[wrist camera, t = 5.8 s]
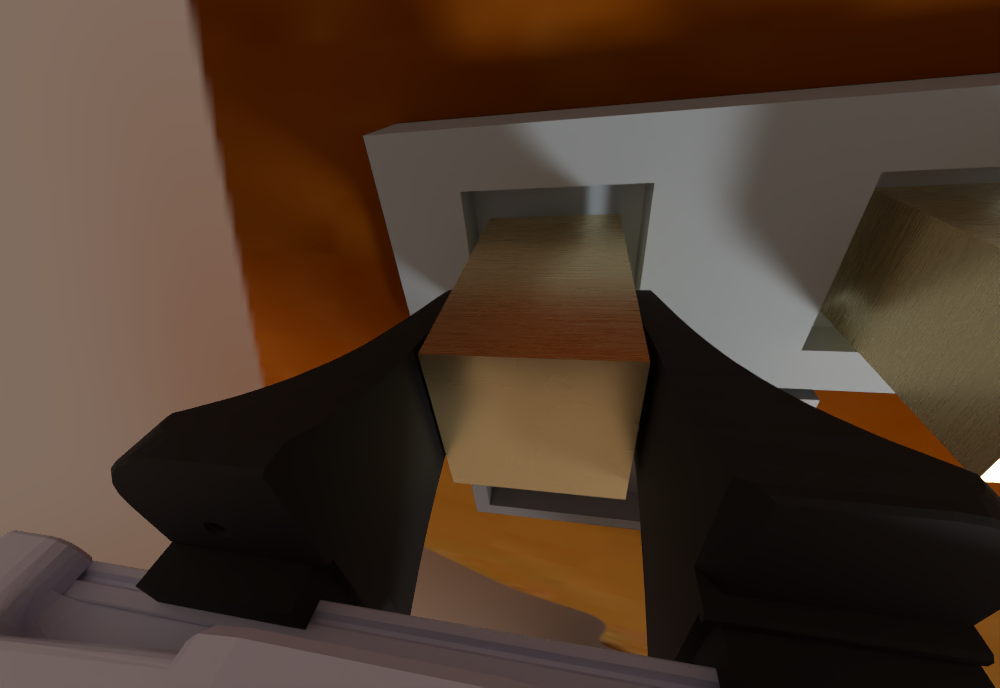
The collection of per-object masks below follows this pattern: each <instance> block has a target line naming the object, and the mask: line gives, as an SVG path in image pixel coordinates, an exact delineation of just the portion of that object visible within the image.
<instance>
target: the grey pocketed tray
mask: <svg viewBox="0 0 1000 688" xmlns="http://www.w3.org/2000/svg"><path fill="white" fill-rule="evenodd" d="M363 138H364V142H365V146H366V150H367V153H368V157H369V161H370V165H371V169H372V172H373V176H374V180H375V184H376V188H377V191H378V195H379V199H380V203H381V207H382V210H383V214H384V218H385V222H386V226H387V230H388V233H389V237H390V241H391V245H392V249H393V252H394V256H395V260H396V264H397V268H398V271H399V275H400V279H401V283H402V287H403V290H404V294H405V298H406V302H407V306H408V309H409V313H410V316H411V315H412V314H414V313H415V312H417V311H418V310H420V309H421V308H423V307H424V306H425V305H427V304H428V303H430V302H431V301H433V300H434V299H436V298H437V297H438V296H440V295H442V294H443V293H445V292H447V291H448V290H452V289H453V287H454V285H455V283H456V282H457V280H458V278H459V276H460V274H461V272H462V270H463V268H464V267H465V265H466V263H467V261H468V259H469V257H470V255H471V253H472V252H473V250H474V248H475V246H476V244H477V242H478V240H479V238H480V236H481V235H482V233H483V231H484V229H485V227H486V225H487V223H488V221H489V220H490V218H506V217H536V216H566V215H596V214H620V218H621V223H622V228H623V233H624V237H625V242H626V247H627V252H628V257H629V262H630V266H631V271H632V276H633V281H634V286H635V290H651V291H652V292H653V293H654V294H655V295H657V296H658V297H659V298H660V299H661V300H662V301H663V302H664V303H665V304H666V305H667V306H668V307H669V308H670V309H671V310H672V311H673V312H674V313H675V314H676V315H677V316H678V317H679V318H680V319H682V320H683V321H684V322H685V323H686V324H687V325H688V326H689V327H691V328H692V329H693V330H694V331H695V332H696V333H698V334H699V335H700V336H701V337H702V338H704V339H705V340H706V341H708V342H709V343H710V344H711V345H713V346H714V347H715V348H717V349H718V350H719V351H721V352H722V353H723V354H725V355H726V356H727V357H729V358H730V359H732V360H733V361H735V362H736V363H738V364H739V365H741V366H742V367H744V368H746V369H747V370H749V371H750V372H752V373H753V374H755V375H757V376H758V377H760V378H761V379H763V380H765V381H767V382H768V383H770V384H772V385H774V386H775V387H777V388H791V389H813V390H835V391H857V392H879V393H895V392H894V391H893V390H892V389H891V387H890V386H889V385H888V384H887V383H886V382H885V381H884V380H883V379H882V378H881V377H880V376H879V374H878V373H877V372H876V371H875V370H874V369H873V368H872V367H871V366H870V365H869V364H868V362H867V361H866V360H865V359H864V358H863V357H862V356H861V355H860V354H859V353H858V352H857V351H856V349H855V348H854V347H853V346H852V345H851V344H850V343H849V342H848V341H847V340H846V339H845V337H844V336H843V335H842V334H841V333H840V332H839V331H838V330H837V329H836V328H835V327H834V326H833V324H832V323H831V322H830V321H829V320H828V319H827V318H826V317H825V316H824V315H823V314H822V312H821V311H820V308H821V306H822V304H823V302H824V299H825V297H826V295H827V293H828V291H829V288H830V286H831V284H832V282H833V280H834V277H835V275H836V273H837V271H838V269H839V266H840V264H841V262H842V260H843V258H844V255H845V253H846V251H847V249H848V247H849V244H850V242H851V240H852V238H853V236H854V233H855V231H856V229H857V227H858V225H859V222H860V220H861V218H862V216H863V214H864V211H865V209H866V207H867V205H868V203H869V200H870V198H871V196H872V194H873V192H874V189H875V187H898V186H923V185H947V184H972V183H997V182H1000V73H991V74H979V75H967V76H955V77H944V78H932V79H920V80H908V81H896V82H884V83H872V84H861V85H849V86H837V87H825V88H813V89H801V90H790V91H778V92H766V93H754V94H742V95H730V96H719V97H707V98H695V99H683V100H671V101H659V102H648V103H636V104H624V105H612V106H600V107H588V108H577V109H565V110H553V111H541V112H529V113H517V114H506V115H494V116H482V117H470V118H458V119H446V120H435V121H423V122H411V123H399V124H394V125H391V126H388V127H386V128H383V129H380V130H377V131H375V132H372V133H369V134H366V135H364V136H363Z"/></svg>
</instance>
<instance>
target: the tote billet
mask: <svg viewBox="0 0 1000 688" xmlns="http://www.w3.org/2000/svg"><path fill="white" fill-rule="evenodd" d="M418 356H419V360H420V363H421V367H422V371H423V374H424V378H425V381H426V385H427V388H428V392H429V396H430V399H431V403H432V406H433V410H434V413H435V417H436V420H437V424H438V428H439V431H440V435H441V438H442V442H443V445H444V449H445V452H446V456H447V460H448V463H449V467H450V470H451V474H452V477H453V481H454V482H455V483H465V484H475V485H485V486H495V487H505V488H515V489H524V490H534V491H544V492H554V493H564V494H574V495H584V496H594V497H604V498H614V499H624V500H625V499H626V494H627V488H628V483H629V477H630V472H631V466H632V461H633V455H634V450H635V444H636V439H637V433H638V428H639V422H640V417H641V411H642V406H643V400H644V395H645V389H646V384H647V378H648V372H649V367H650V358H649V354H648V349H647V344H646V339H645V334H644V329H643V325H642V320H641V315H640V310H639V305H638V300H637V296H636V291H635V286H634V281H633V276H632V271H631V266H630V262H629V257H628V252H627V247H626V242H625V237H624V233H623V228H622V223H621V218H620V214H596V215H566V216H536V217H506V218H490V220H489V221H488V223H487V225H486V227H485V229H484V231H483V233H482V235H481V236H480V238H479V240H478V242H477V244H476V246H475V248H474V250H473V252H472V253H471V255H470V257H469V259H468V261H467V263H466V265H465V267H464V268H463V270H462V272H461V274H460V276H459V278H458V280H457V282H456V283H455V285H454V287H453V289H452V291H451V293H450V295H449V297H448V298H447V300H446V302H445V304H444V306H443V308H442V310H441V312H440V313H439V315H438V317H437V319H436V321H435V323H434V325H433V327H432V328H431V330H430V332H429V334H428V336H427V338H426V340H425V342H424V343H423V345H422V347H421V349H420V351H419V353H418Z"/></svg>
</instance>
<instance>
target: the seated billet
mask: <svg viewBox="0 0 1000 688" xmlns="http://www.w3.org/2000/svg"><path fill="white" fill-rule="evenodd" d="M820 311H821V312H822V314H823V315H824V316H825V317H826V318H827V319H828V320H829V321H830V322H831V323H832V324H833V326H834V327H835V328H836V329H837V330H838V331H839V332H840V333H841V334H842V335H843V336H844V337H845V339H846V340H847V341H848V342H849V343H850V344H851V345H852V346H853V347H854V348H855V349H856V351H857V352H858V353H859V354H860V355H861V356H862V357H863V358H864V359H865V360H866V361H867V362H868V364H869V365H870V366H871V367H872V368H873V369H874V370H875V371H876V372H877V373H878V374H879V376H880V377H881V378H882V379H883V380H884V381H885V382H886V383H887V384H888V385H889V386H890V387H891V389H892V390H893V391H894V392H895V393H896V394H897V395H898V396H899V397H900V398H901V399H902V400H903V402H904V403H905V404H906V405H907V406H908V407H909V408H910V409H911V410H912V411H913V412H914V414H915V415H916V416H917V417H918V418H919V419H920V420H921V421H922V422H923V423H924V424H925V425H926V427H927V428H928V429H929V430H930V431H931V432H932V433H933V434H934V435H935V436H936V437H937V439H938V440H939V441H940V442H941V443H942V444H943V445H944V446H945V447H946V448H947V449H948V450H949V452H950V453H951V454H952V455H953V456H954V457H955V458H956V459H957V460H958V461H959V462H960V463H961V465H962V466H963V467H964V468H965V469H966V470H968V471H971V472H974V473H976V474H978V475H979V476H980V477H981V478H982V479H983V480H984V481H985V482H997V483H1000V182H997V183H972V184H947V185H923V186H898V187H875V189H874V192H873V194H872V196H871V198H870V200H869V203H868V205H867V207H866V209H865V211H864V214H863V216H862V218H861V220H860V222H859V225H858V227H857V229H856V231H855V233H854V236H853V238H852V240H851V242H850V244H849V247H848V249H847V251H846V253H845V255H844V258H843V260H842V262H841V264H840V266H839V269H838V271H837V273H836V275H835V277H834V280H833V282H832V284H831V286H830V288H829V291H828V293H827V295H826V297H825V299H824V302H823V304H822V306H821V308H820Z"/></svg>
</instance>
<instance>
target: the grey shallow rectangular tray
mask: <svg viewBox="0 0 1000 688" xmlns="http://www.w3.org/2000/svg"><path fill="white" fill-rule="evenodd" d="M779 389H781V390H783V391H785V392H786V393H788V394H790V395H792V396H794V397H796V398H798V399H800V400H802V401H803V402H805V403H807V404H809V405H811V406H813V407H815V408H816V406H817V405H818V403H819V401H820V400H819V398H818V397H817V395H816V394H815V392H814V391H813V390H812V389H791V388H779ZM472 488H473V492H474V497H475V502H476V506H477V511H480V512H488V513H497V514H506V515H514V516H523V517H532V518H540V519H549V520H558V521H566V522H575V523H584V524H592V525H601V526H610V527H618V528H627V529H636V530H641V527H640V513H639V501H638V489H637V477H636V469H635V462H634V455H633V461H632V466H631V472H630V477H629V483H628V488H627V494H626V499H625V500H624V499H614V498H604V497H594V496H584V495H574V494H564V493H554V492H544V491H534V490H524V489H515V488H505V487H495V486H485V485H475V484H472Z"/></svg>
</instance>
